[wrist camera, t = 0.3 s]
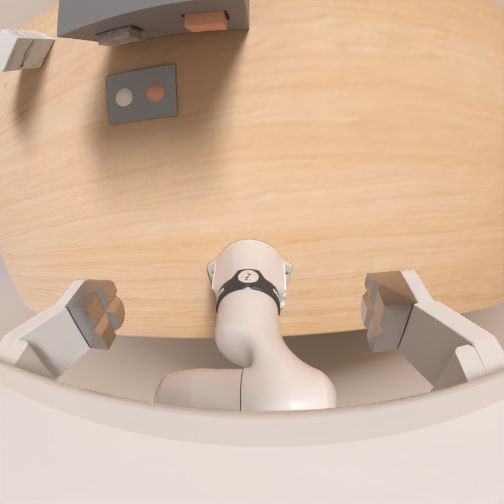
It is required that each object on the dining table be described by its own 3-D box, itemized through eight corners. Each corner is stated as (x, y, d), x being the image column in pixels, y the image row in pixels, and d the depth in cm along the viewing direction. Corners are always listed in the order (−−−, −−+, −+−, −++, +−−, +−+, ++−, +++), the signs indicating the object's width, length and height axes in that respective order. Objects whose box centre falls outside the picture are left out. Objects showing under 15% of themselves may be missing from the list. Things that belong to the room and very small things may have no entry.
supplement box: (41, 68, 39) (2, 73, 28) (24, 58, 36) (-14, 62, 26) (56, 39, 36) (17, 37, 25) (38, 29, 33) (0, 28, 22)
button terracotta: (226, 29, 32) (222, 22, 28) (192, 32, 32) (184, 26, 28) (226, 12, 31) (222, 3, 26) (192, 15, 31) (184, 7, 26)
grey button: (141, 40, 32) (128, 36, 28) (113, 46, 32) (98, 44, 28) (142, 23, 31) (129, 18, 27) (113, 30, 31) (98, 27, 27)
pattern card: (177, 115, 47) (176, 116, 47) (110, 124, 47) (109, 125, 47) (175, 64, 42) (174, 64, 41) (106, 76, 42) (105, 76, 41)
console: (249, 29, 38) (243, -4, 21) (119, 45, 39) (57, 36, 22) (249, 0, 35) (244, -43, 18) (119, 18, 35) (59, 0, 19)
